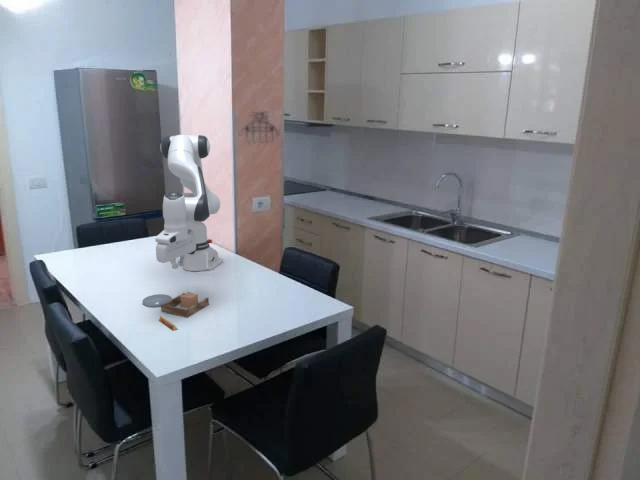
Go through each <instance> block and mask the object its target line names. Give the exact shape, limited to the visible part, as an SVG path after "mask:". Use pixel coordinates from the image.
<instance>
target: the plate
mask: <svg viewBox="0 0 640 480" xmlns="http://www.w3.org/2000/svg"><path fill="white" fill-rule="evenodd" d="M172 299H173V297H172V296H171V295H168V294H160V293H159V294H153V295H148V296H147V297H145V298H143V299H142V305H143V306H144V307H147V308H161V305H162V304H164V303H166V302H168V301H170V300H172Z"/></svg>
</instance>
